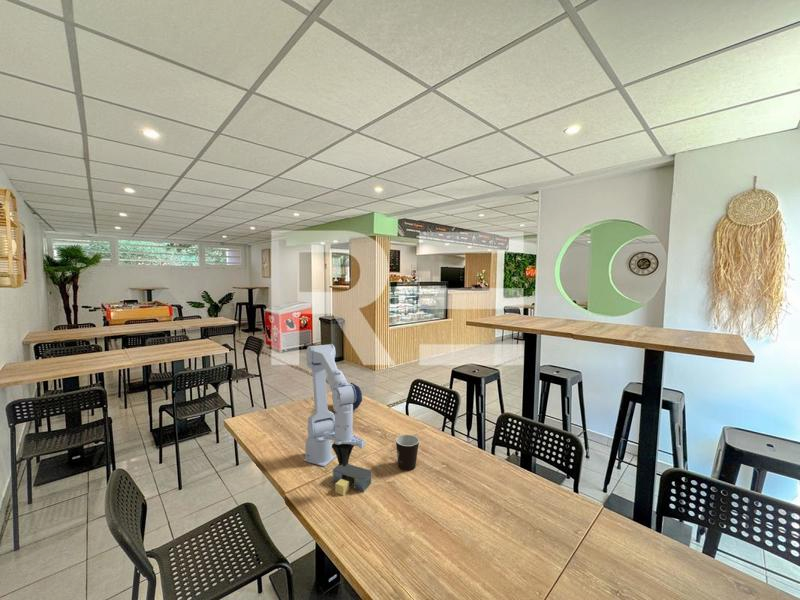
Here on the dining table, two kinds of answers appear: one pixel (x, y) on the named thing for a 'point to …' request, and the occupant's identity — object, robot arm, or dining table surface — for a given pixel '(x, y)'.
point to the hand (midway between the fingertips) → (343, 464)
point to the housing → (353, 475)
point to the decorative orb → (357, 397)
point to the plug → (344, 485)
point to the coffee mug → (407, 451)
